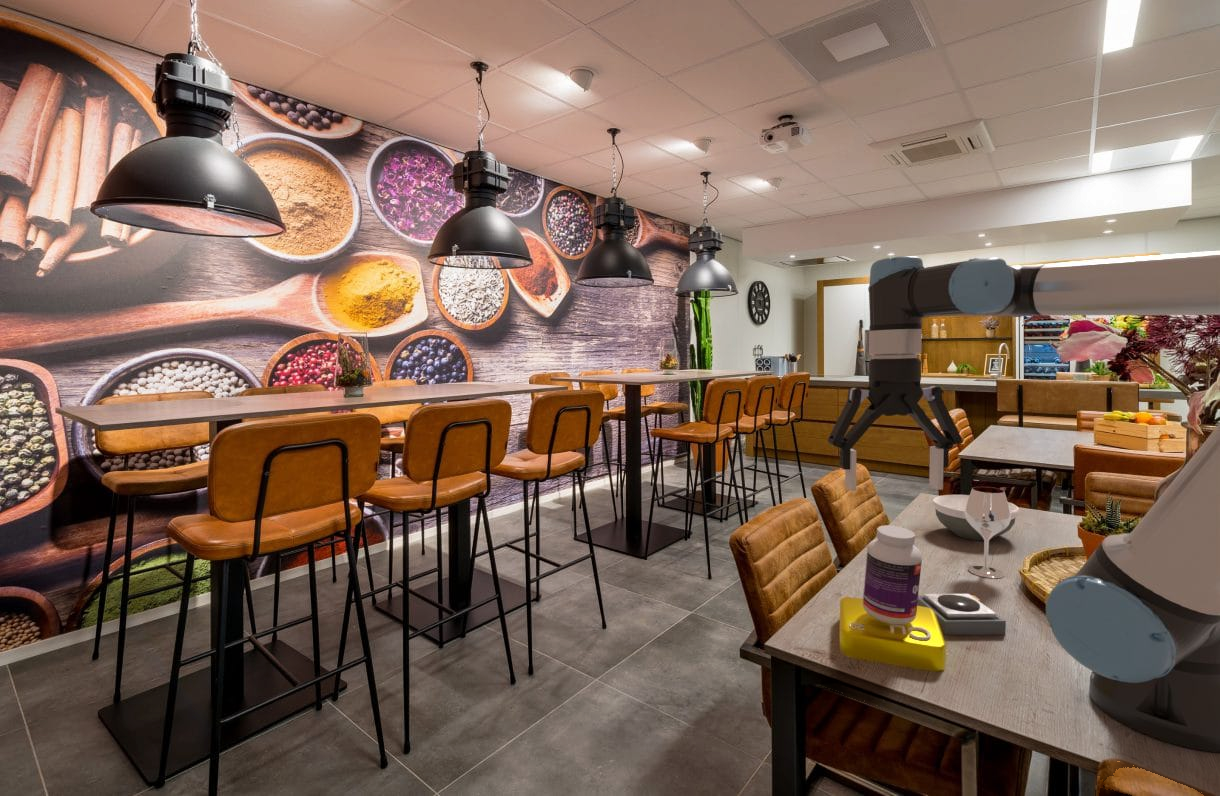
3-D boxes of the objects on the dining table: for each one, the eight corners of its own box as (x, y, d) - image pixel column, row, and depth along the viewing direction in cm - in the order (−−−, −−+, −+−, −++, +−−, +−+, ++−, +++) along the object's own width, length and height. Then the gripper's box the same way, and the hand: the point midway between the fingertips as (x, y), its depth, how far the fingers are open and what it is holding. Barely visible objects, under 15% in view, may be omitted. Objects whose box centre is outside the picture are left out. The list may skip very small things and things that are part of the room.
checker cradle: (1005, 634, 96) (1005, 618, 96) (944, 635, 97) (945, 618, 97) (970, 608, 106) (970, 593, 106) (915, 608, 107) (915, 593, 106)
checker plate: (995, 624, 97) (996, 612, 97) (947, 625, 98) (947, 612, 97) (968, 604, 105) (968, 592, 105) (923, 604, 106) (924, 592, 105)
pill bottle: (920, 631, 90) (929, 544, 88) (864, 622, 92) (872, 537, 90) (910, 606, 97) (918, 525, 95) (859, 598, 100) (866, 519, 98)
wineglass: (969, 578, 120) (971, 493, 119) (958, 563, 128) (960, 484, 126) (1015, 581, 118) (1017, 495, 116) (1000, 567, 125) (1003, 486, 124)
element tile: (933, 630, 99) (933, 604, 99) (947, 676, 86) (948, 646, 85) (840, 617, 105) (840, 592, 105) (839, 658, 91) (839, 629, 91)
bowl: (918, 524, 157) (918, 494, 156) (988, 523, 156) (989, 493, 155) (956, 547, 138) (957, 514, 138) (1036, 546, 137) (1037, 513, 137)
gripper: (961, 355, 95) (958, 481, 96) (808, 359, 96) (808, 484, 97) (989, 355, 87) (986, 492, 89) (823, 359, 88) (823, 495, 90)
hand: (893, 488), depth 93 cm, fingers open, 13 cm apart
